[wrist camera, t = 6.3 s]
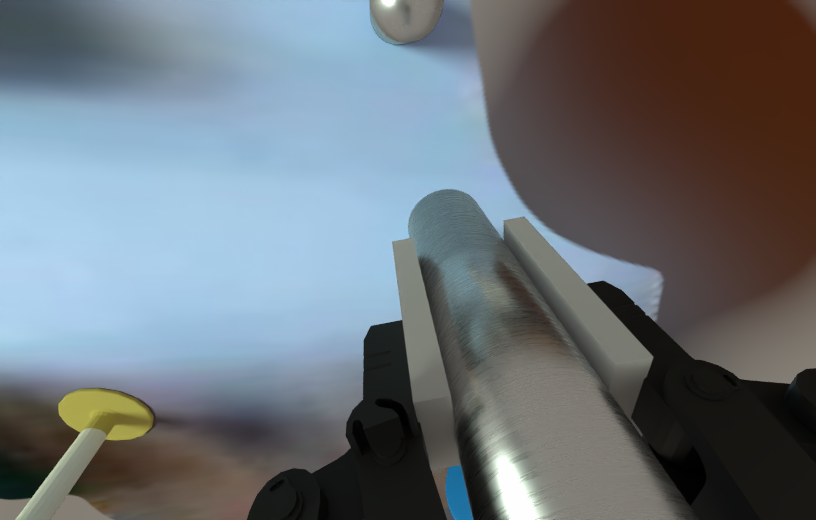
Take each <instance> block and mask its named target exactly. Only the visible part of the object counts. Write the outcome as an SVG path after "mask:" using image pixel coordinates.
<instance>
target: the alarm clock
mask: <svg viewBox="0 0 816 520" xmlns="http://www.w3.org/2000/svg"><path fill="white" fill-rule="evenodd" d="M446 497H447V502H448V505H449V508H450V511H451V513H452V515H453V517H454V519H455V520H473V517H472V513H471V508H470V504H469V500H468V495H467V491H466V486H465V482H464V477H463V473H462V468H461V465H458V466H453V467H449V468H448V472H447V477H446Z"/></svg>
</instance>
